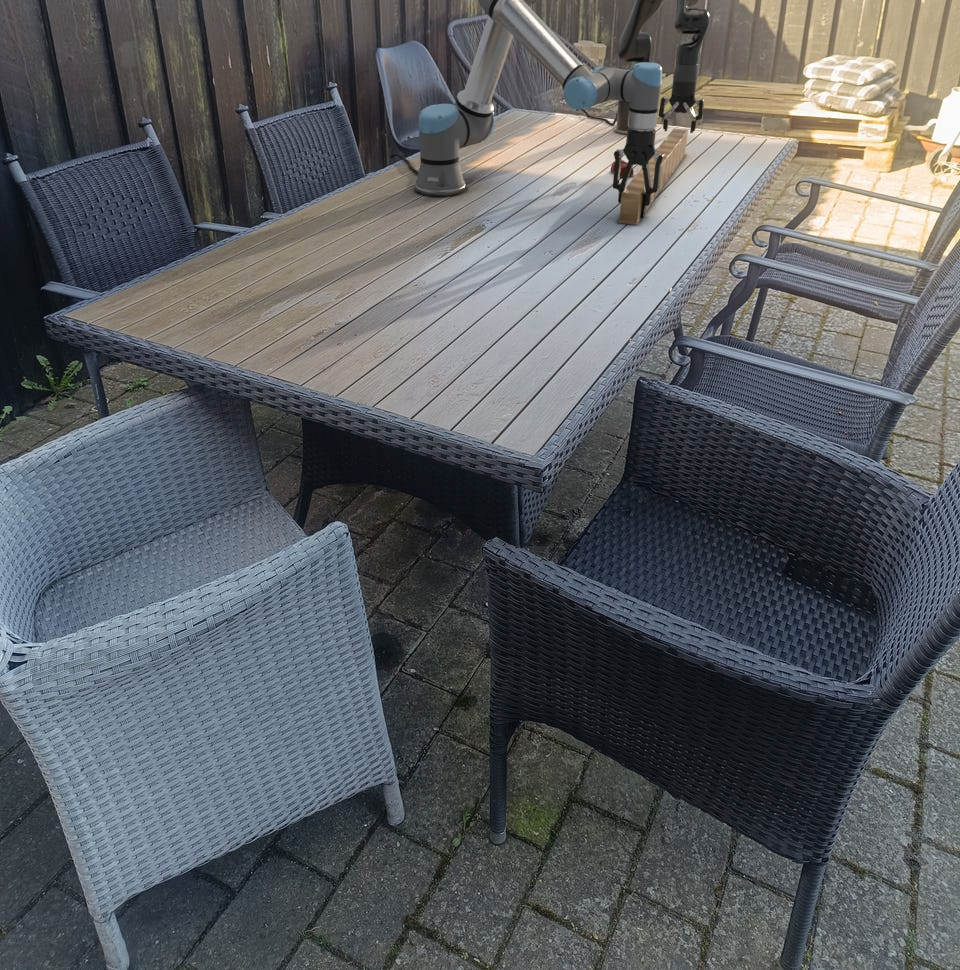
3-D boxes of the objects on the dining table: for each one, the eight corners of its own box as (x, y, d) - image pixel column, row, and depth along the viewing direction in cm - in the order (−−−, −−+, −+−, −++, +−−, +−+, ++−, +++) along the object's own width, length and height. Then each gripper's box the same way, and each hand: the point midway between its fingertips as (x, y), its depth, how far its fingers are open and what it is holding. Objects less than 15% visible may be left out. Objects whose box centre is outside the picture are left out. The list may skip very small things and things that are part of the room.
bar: (636, 225, 232) (639, 194, 227) (618, 222, 233) (621, 192, 229) (684, 154, 291) (688, 129, 287) (670, 153, 293) (673, 128, 288)
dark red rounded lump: (625, 156, 273) (635, 163, 267) (625, 169, 276) (634, 176, 269) (609, 158, 272) (618, 165, 266) (608, 171, 275) (618, 178, 268)
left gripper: (678, 127, 224) (667, 215, 237) (611, 122, 229) (604, 208, 242) (673, 134, 218) (662, 223, 231) (605, 128, 223) (598, 215, 237)
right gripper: (709, 78, 274) (701, 131, 283) (665, 75, 278) (659, 127, 287) (705, 82, 268) (698, 135, 277) (661, 79, 272) (655, 132, 281)
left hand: (632, 215), depth 237 cm, fingers closed on bar, 5 cm apart
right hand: (678, 131), depth 282 cm, fingers open, 8 cm apart
